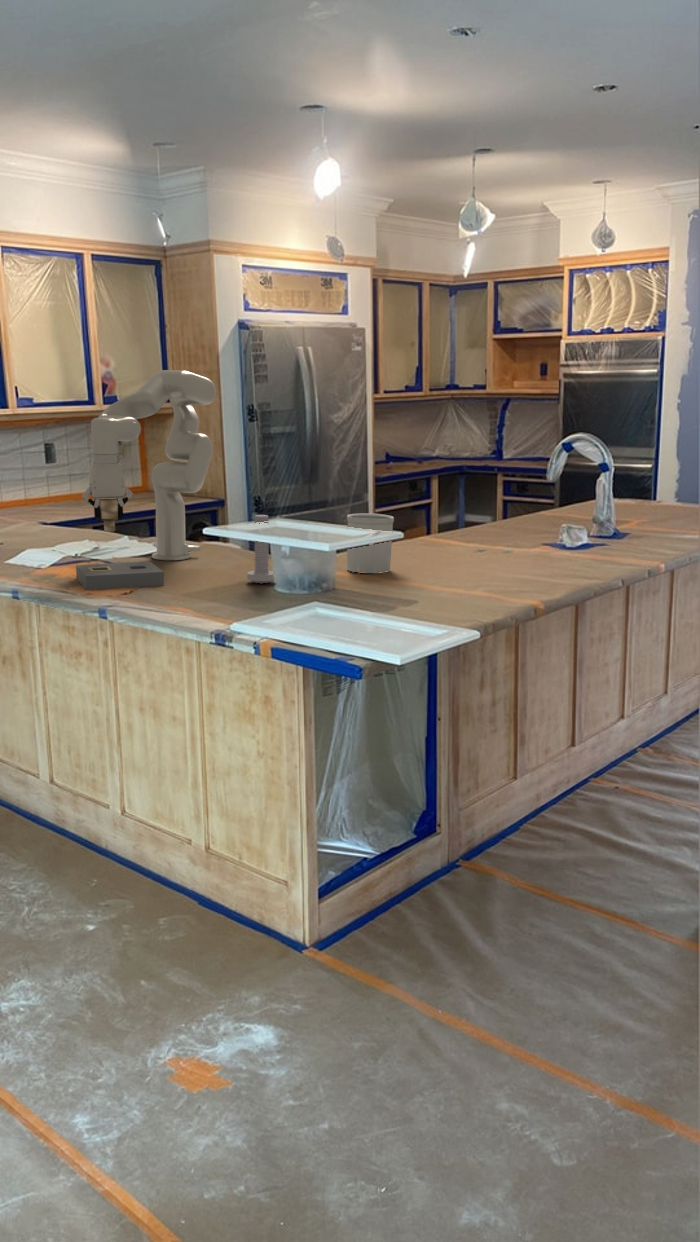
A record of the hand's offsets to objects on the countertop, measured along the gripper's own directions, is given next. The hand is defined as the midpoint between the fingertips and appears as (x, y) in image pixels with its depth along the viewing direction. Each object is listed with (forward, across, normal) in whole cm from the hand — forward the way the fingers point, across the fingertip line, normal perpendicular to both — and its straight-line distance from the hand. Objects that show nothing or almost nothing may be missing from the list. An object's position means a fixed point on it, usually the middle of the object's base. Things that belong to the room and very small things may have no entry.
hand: (109, 519), depth 305 cm
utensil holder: (+18, -77, +22) cm, 82 cm away
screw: (+17, -38, +31) cm, 52 cm away
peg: (+4, 0, 0) cm, 4 cm away
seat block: (+16, +1, +17) cm, 23 cm away
